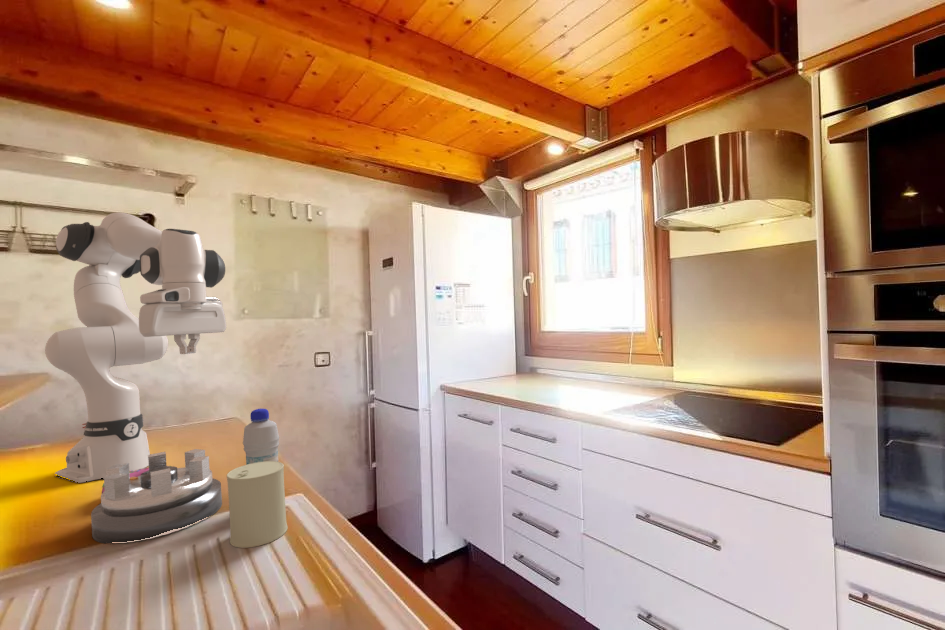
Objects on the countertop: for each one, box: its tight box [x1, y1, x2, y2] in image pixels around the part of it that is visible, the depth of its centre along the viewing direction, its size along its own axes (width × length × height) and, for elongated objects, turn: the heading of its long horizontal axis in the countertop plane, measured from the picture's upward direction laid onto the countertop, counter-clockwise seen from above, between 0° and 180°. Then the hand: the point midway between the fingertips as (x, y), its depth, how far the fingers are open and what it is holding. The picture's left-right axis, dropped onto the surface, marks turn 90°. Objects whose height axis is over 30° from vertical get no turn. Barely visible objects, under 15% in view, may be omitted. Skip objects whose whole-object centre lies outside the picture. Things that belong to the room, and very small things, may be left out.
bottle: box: [242, 408, 280, 465], centre depth 91 cm, size 7×7×20 cm
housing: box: [90, 477, 223, 544], centre depth 89 cm, size 21×21×4 cm
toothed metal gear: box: [100, 448, 213, 516], centre depth 89 cm, size 18×18×6 cm
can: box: [226, 461, 288, 549], centre depth 79 cm, size 9×9×12 cm
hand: (188, 353), depth 107 cm, fingers closed
